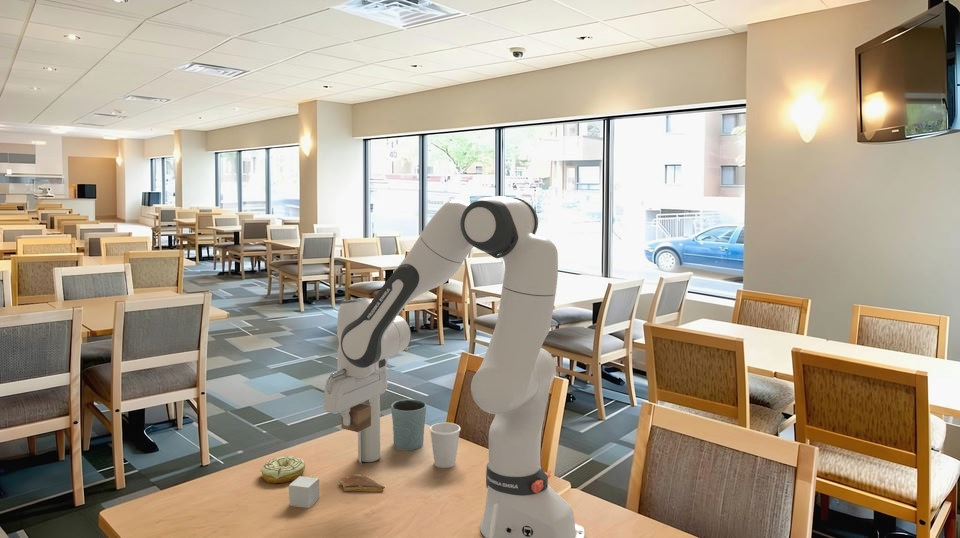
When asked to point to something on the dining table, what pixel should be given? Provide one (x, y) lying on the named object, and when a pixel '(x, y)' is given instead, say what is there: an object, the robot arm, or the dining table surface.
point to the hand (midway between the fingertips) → (356, 420)
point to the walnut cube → (358, 418)
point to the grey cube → (304, 492)
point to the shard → (360, 483)
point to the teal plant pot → (408, 423)
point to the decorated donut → (283, 469)
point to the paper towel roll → (370, 435)
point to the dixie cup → (445, 443)
